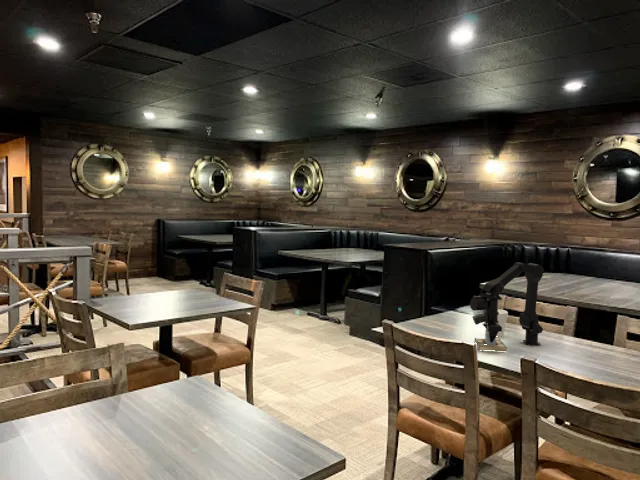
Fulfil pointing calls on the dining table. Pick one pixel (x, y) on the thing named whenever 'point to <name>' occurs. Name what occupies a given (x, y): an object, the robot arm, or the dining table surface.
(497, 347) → the well
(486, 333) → the grey and beige block
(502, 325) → the foam cup
